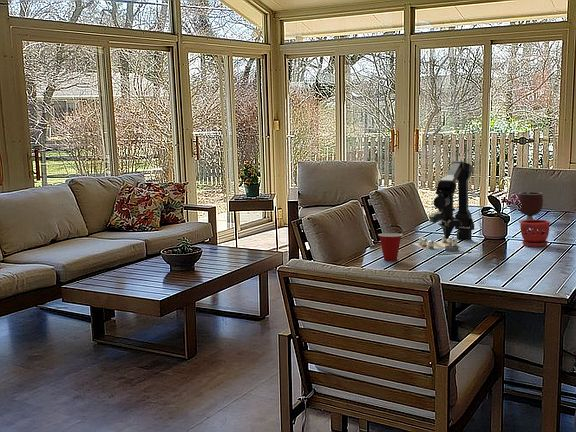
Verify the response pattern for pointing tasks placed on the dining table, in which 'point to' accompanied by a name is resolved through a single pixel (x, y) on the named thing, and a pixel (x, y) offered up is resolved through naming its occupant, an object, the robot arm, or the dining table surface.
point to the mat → (452, 253)
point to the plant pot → (534, 232)
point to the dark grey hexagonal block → (451, 248)
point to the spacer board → (435, 245)
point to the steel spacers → (431, 242)
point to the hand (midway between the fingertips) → (446, 238)
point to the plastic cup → (390, 245)
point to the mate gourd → (530, 203)
